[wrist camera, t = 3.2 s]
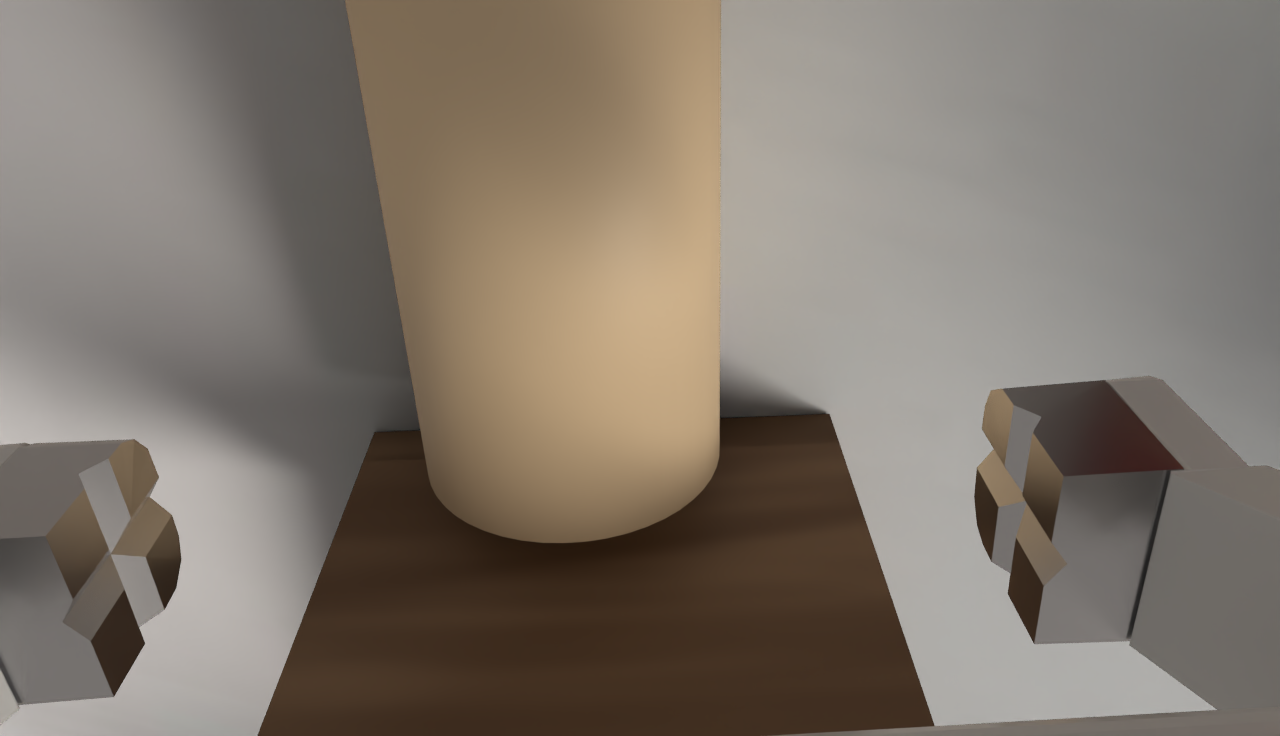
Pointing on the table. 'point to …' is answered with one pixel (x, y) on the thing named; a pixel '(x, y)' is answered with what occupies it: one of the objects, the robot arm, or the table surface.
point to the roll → (553, 250)
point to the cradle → (607, 611)
